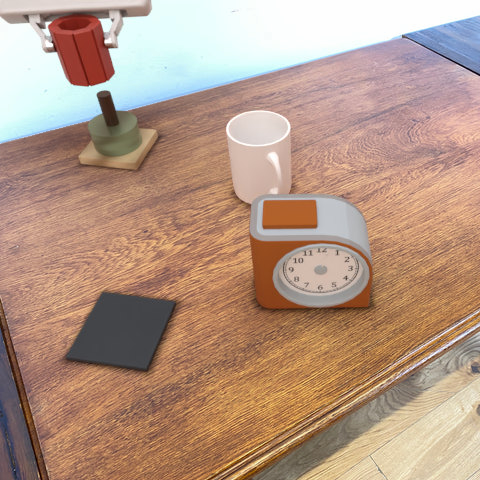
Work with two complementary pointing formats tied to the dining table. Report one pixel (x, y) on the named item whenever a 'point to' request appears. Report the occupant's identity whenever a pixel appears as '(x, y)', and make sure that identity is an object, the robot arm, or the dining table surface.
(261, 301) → the alarm clock
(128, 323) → the mat
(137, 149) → the ring stand
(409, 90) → the dining table surface
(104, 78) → the ring sleeve
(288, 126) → the mug
